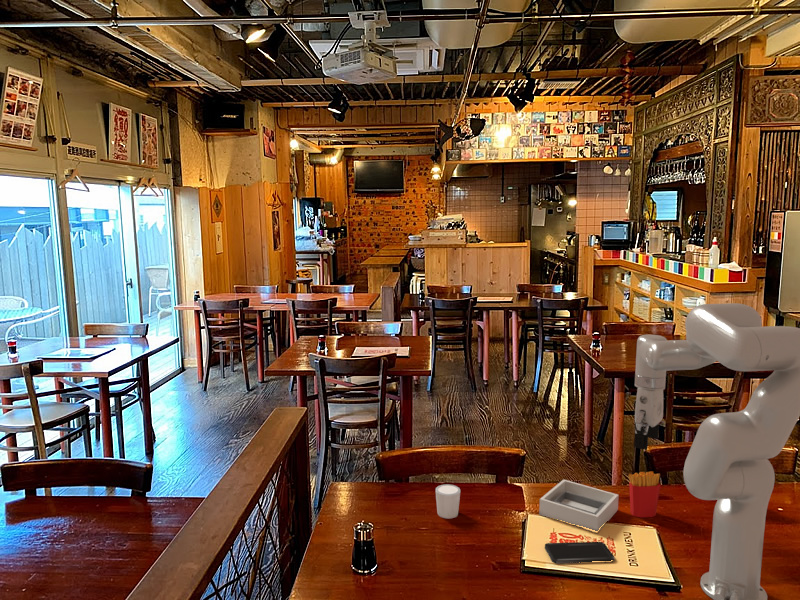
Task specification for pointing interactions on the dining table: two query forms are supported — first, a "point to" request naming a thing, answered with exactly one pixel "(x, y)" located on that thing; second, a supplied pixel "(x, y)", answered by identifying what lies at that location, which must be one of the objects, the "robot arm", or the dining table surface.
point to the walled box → (579, 504)
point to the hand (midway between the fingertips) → (646, 442)
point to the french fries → (644, 494)
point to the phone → (578, 552)
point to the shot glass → (447, 500)
